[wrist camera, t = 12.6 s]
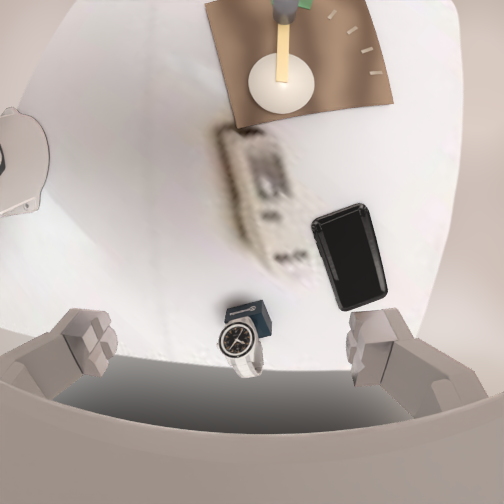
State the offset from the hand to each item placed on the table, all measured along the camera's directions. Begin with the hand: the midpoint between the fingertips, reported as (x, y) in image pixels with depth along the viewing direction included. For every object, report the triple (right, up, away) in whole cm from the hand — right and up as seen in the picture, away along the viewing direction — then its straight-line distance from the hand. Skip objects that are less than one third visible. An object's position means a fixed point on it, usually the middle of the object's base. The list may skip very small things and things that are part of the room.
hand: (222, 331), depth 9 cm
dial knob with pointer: (+4, +24, +19) cm, 31 cm away
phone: (+15, +2, +31) cm, 34 cm away
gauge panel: (+7, +26, +20) cm, 34 cm away
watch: (+1, -7, +35) cm, 36 cm away
